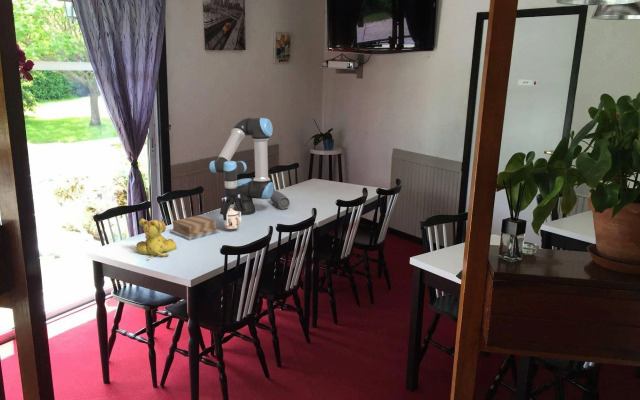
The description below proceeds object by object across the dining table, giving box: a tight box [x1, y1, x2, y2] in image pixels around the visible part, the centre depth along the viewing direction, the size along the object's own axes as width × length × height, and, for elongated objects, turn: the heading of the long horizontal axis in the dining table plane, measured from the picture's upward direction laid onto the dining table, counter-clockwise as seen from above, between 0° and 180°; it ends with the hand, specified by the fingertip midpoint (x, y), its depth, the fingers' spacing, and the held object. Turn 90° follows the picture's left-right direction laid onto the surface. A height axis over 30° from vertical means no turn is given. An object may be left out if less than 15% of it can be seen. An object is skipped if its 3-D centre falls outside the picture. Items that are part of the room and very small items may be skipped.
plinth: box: [169, 214, 220, 242], centre depth 313 cm, size 21×21×8 cm
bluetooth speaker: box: [269, 190, 291, 210], centre depth 373 cm, size 23×9×10 cm, turn 22°
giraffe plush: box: [135, 218, 178, 261], centre depth 277 cm, size 20×24×19 cm
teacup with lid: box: [223, 207, 242, 230], centre depth 315 cm, size 12×9×12 cm
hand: (233, 223), depth 316 cm, fingers closed on teacup with lid, 9 cm apart
